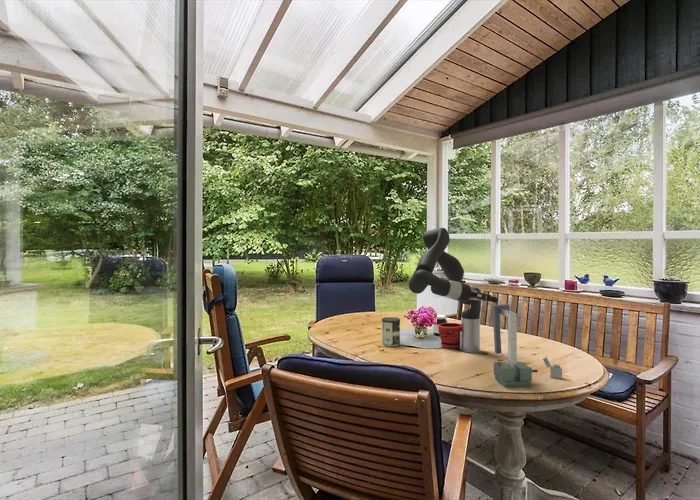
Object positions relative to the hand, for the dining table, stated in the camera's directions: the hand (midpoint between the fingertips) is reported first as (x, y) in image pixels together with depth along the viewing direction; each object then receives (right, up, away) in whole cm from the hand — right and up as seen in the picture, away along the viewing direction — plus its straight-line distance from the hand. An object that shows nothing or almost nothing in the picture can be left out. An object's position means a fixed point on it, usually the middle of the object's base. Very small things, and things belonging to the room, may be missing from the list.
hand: (490, 299), depth 149 cm
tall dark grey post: (+6, -23, +3) cm, 24 cm away
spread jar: (-2, -32, +70) cm, 77 cm away
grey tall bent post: (+8, -32, -2) cm, 33 cm away
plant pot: (-4, -32, +45) cm, 55 cm away
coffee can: (-36, -32, +50) cm, 70 cm away
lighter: (+25, -32, -1) cm, 41 cm away
